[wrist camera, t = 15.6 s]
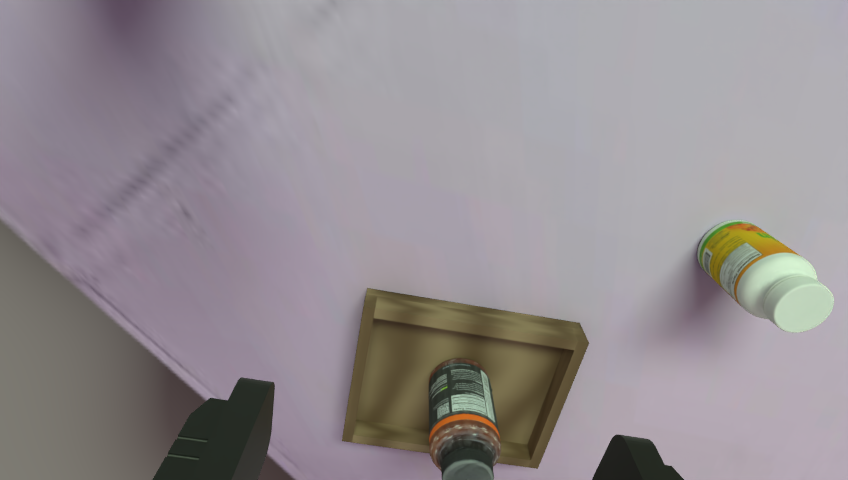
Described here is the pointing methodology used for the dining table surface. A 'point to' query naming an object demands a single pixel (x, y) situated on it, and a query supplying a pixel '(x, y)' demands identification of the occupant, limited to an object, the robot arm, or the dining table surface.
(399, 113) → the dining table surface
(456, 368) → the supplement bottle
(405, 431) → the serving tray
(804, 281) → the supplement bottle
